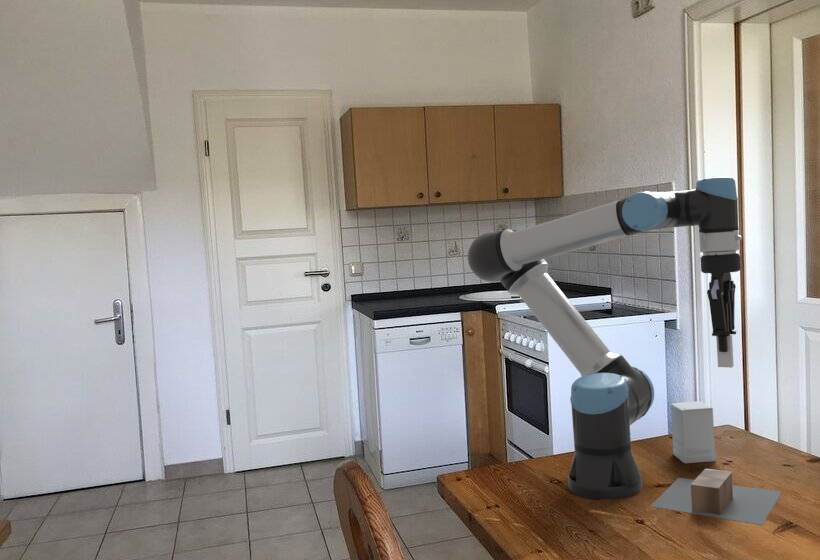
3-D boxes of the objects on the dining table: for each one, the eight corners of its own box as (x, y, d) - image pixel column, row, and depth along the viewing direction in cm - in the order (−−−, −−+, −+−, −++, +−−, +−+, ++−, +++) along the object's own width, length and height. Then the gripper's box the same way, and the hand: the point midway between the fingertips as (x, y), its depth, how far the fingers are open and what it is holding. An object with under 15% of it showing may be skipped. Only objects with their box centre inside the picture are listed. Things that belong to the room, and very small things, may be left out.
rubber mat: (650, 508, 140) (650, 506, 140) (678, 479, 154) (678, 477, 154) (762, 527, 128) (762, 524, 128) (782, 493, 142) (781, 491, 142)
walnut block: (706, 493, 144) (692, 510, 136) (705, 468, 144) (690, 484, 136) (733, 496, 141) (719, 514, 133) (731, 471, 141) (718, 488, 133)
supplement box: (716, 462, 163) (713, 407, 162) (683, 465, 163) (680, 410, 162) (703, 453, 170) (701, 400, 169) (672, 455, 170) (669, 402, 170)
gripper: (731, 254, 140) (737, 373, 141) (746, 250, 150) (752, 361, 152) (691, 256, 145) (698, 371, 146) (709, 252, 155) (715, 360, 156)
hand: (725, 366), depth 149 cm, fingers closed
